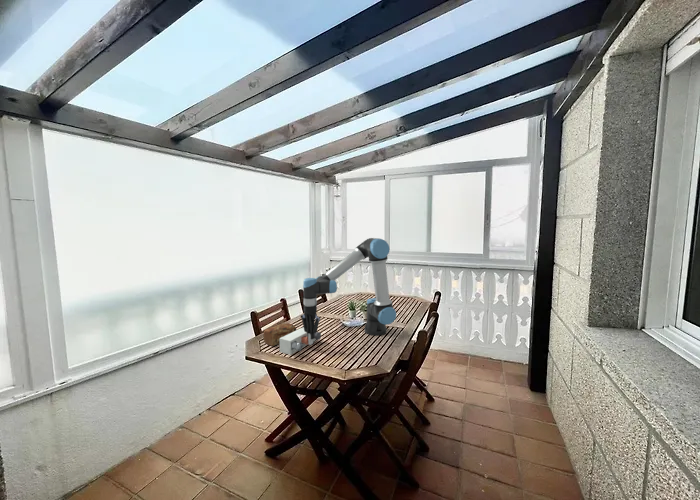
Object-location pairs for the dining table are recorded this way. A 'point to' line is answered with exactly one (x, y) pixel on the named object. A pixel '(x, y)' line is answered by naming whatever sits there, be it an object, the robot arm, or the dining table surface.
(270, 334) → the bread
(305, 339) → the red plug
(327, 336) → the dining table surface
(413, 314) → the dining table surface
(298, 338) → the socket block
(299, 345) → the steel plug
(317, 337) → the grey plug
